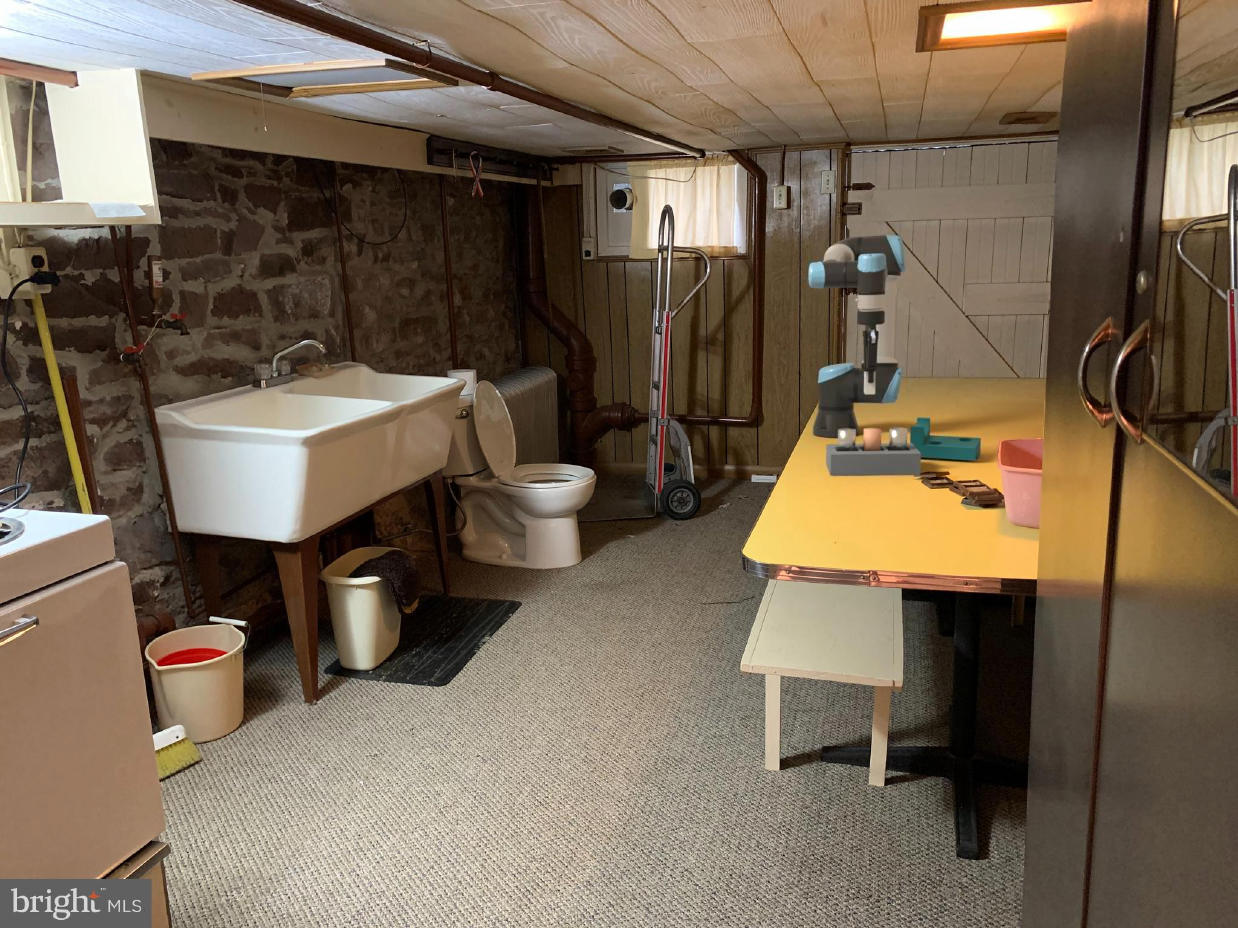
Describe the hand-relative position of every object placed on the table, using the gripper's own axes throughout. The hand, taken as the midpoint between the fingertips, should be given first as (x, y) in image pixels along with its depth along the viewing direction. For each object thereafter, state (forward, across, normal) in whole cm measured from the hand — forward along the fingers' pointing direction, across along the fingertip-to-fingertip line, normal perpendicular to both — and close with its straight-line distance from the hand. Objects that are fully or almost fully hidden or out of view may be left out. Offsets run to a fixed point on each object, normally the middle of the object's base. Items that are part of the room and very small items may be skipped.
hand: (869, 393), depth 269 cm
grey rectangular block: (+20, +8, 0) cm, 22 cm away
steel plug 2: (+15, +8, +7) cm, 19 cm away
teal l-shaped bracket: (+21, -7, +23) cm, 32 cm away
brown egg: (+15, +8, 0) cm, 17 cm away
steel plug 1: (+15, +8, -7) cm, 19 cm away
